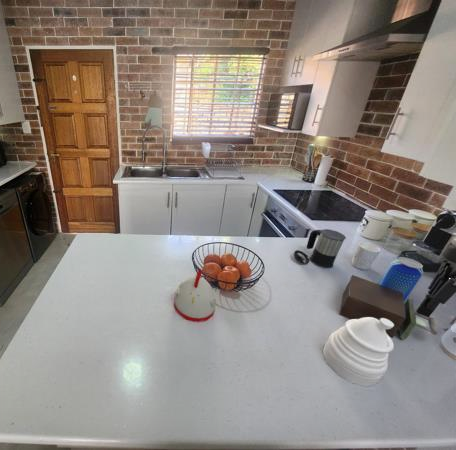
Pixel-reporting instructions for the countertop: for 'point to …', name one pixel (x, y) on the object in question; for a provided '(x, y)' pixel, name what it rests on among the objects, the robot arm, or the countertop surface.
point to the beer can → (402, 275)
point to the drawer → (414, 321)
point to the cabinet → (373, 303)
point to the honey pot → (360, 350)
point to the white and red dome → (195, 299)
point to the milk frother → (322, 248)
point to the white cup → (365, 255)
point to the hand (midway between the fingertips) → (422, 313)
